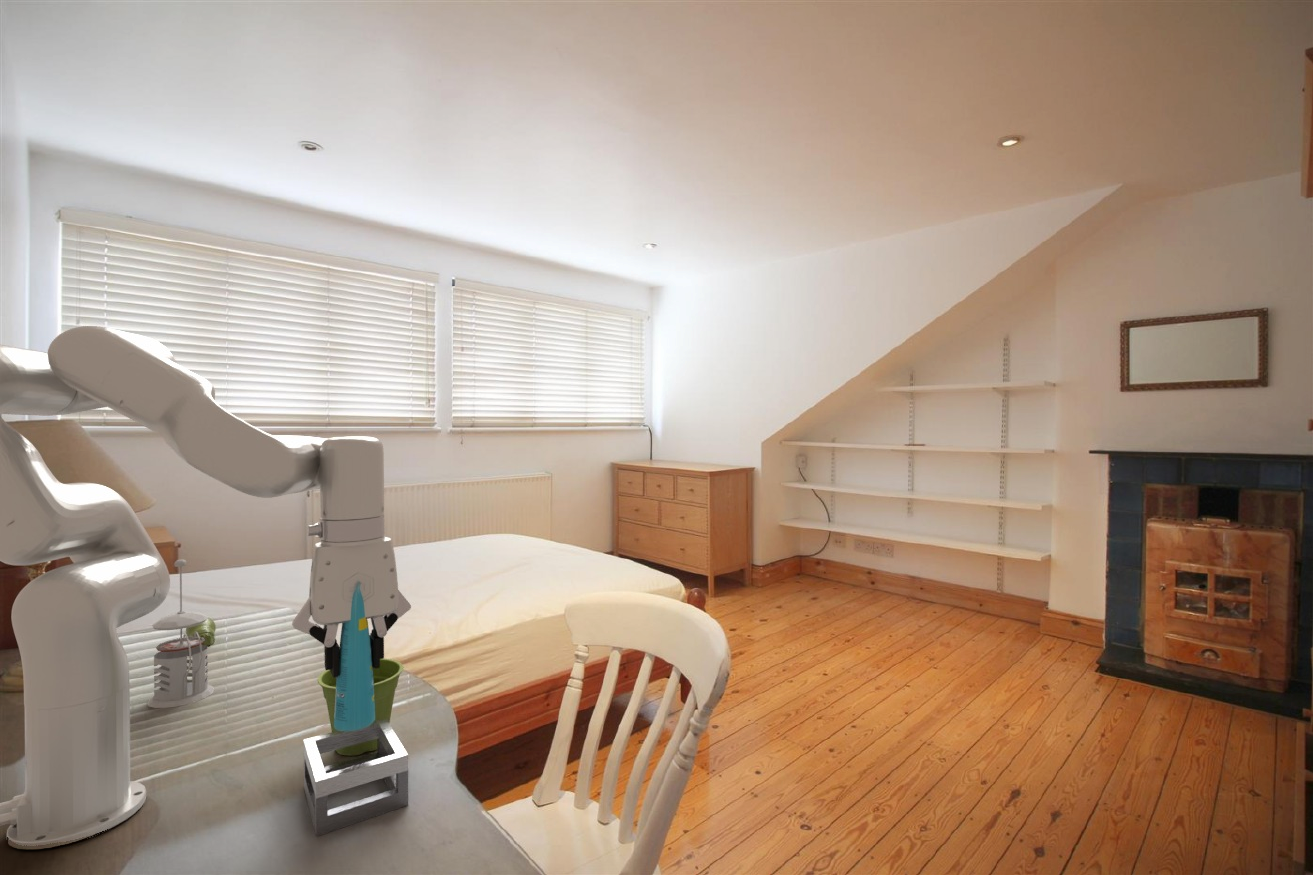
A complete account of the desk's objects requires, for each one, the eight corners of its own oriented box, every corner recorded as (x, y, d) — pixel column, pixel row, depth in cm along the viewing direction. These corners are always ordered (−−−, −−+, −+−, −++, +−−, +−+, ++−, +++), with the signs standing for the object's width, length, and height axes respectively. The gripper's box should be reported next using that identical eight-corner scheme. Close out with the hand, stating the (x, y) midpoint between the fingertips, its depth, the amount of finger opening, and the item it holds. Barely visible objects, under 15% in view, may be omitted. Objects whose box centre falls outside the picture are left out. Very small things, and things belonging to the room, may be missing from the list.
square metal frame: (316, 836, 73) (316, 781, 73) (303, 787, 83) (303, 739, 83) (408, 805, 79) (408, 754, 79) (386, 763, 89) (386, 718, 89)
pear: (214, 611, 147) (219, 628, 139) (213, 632, 147) (218, 650, 140) (184, 615, 143) (188, 633, 136) (184, 637, 144) (188, 655, 136)
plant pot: (308, 771, 87) (307, 691, 87) (328, 732, 98) (328, 661, 98) (398, 759, 90) (397, 682, 90) (408, 722, 101) (407, 654, 101)
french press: (202, 681, 119) (201, 552, 119) (228, 695, 112) (227, 558, 112) (138, 699, 111) (137, 560, 111) (162, 715, 104) (161, 568, 104)
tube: (382, 728, 79) (381, 579, 79) (341, 740, 76) (340, 585, 76) (366, 708, 85) (366, 570, 85) (327, 719, 82) (327, 575, 82)
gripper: (281, 541, 73) (283, 695, 73) (427, 527, 82) (428, 663, 83) (275, 533, 79) (277, 675, 79) (412, 521, 89) (413, 648, 89)
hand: (354, 668), depth 81 cm, fingers closed on tube, 4 cm apart
